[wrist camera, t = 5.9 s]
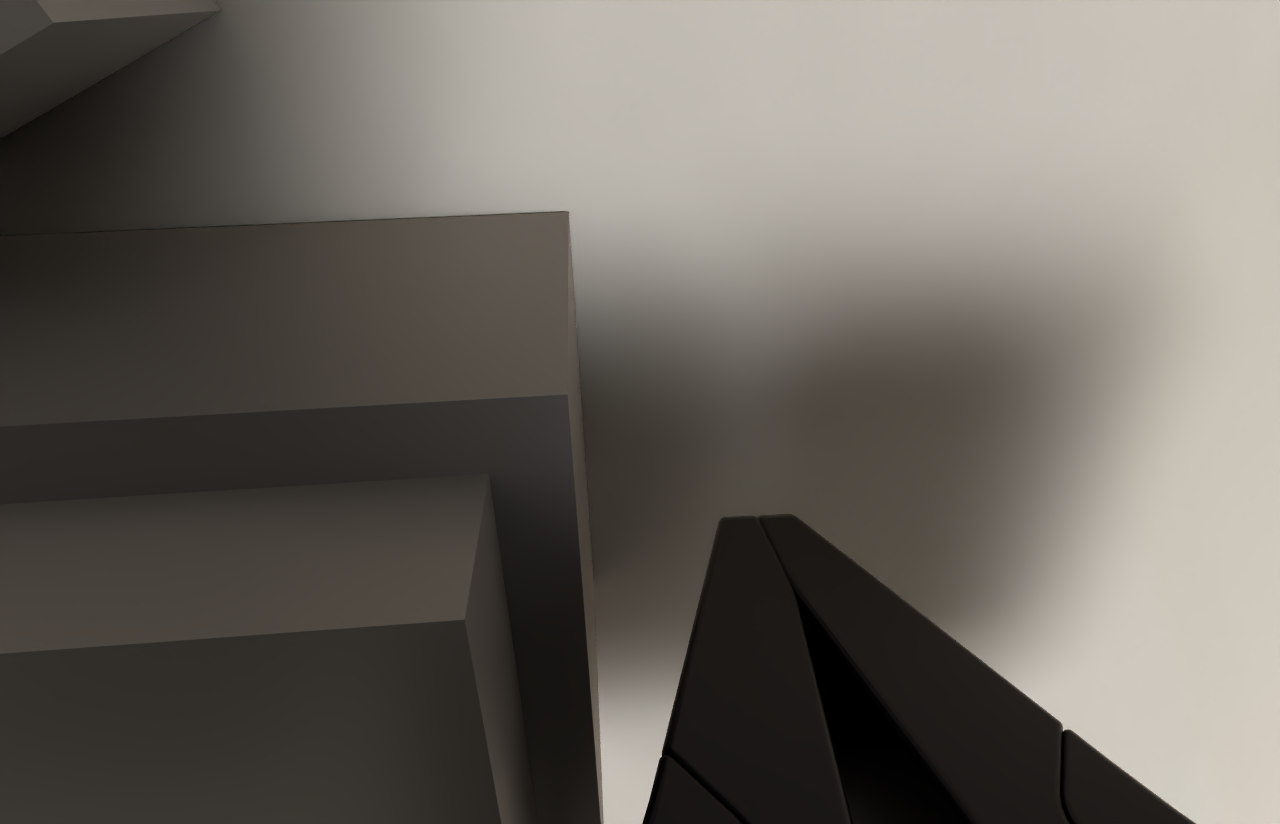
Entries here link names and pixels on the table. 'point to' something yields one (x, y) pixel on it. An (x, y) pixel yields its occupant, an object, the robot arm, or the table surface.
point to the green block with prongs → (78, 46)
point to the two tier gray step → (296, 526)
